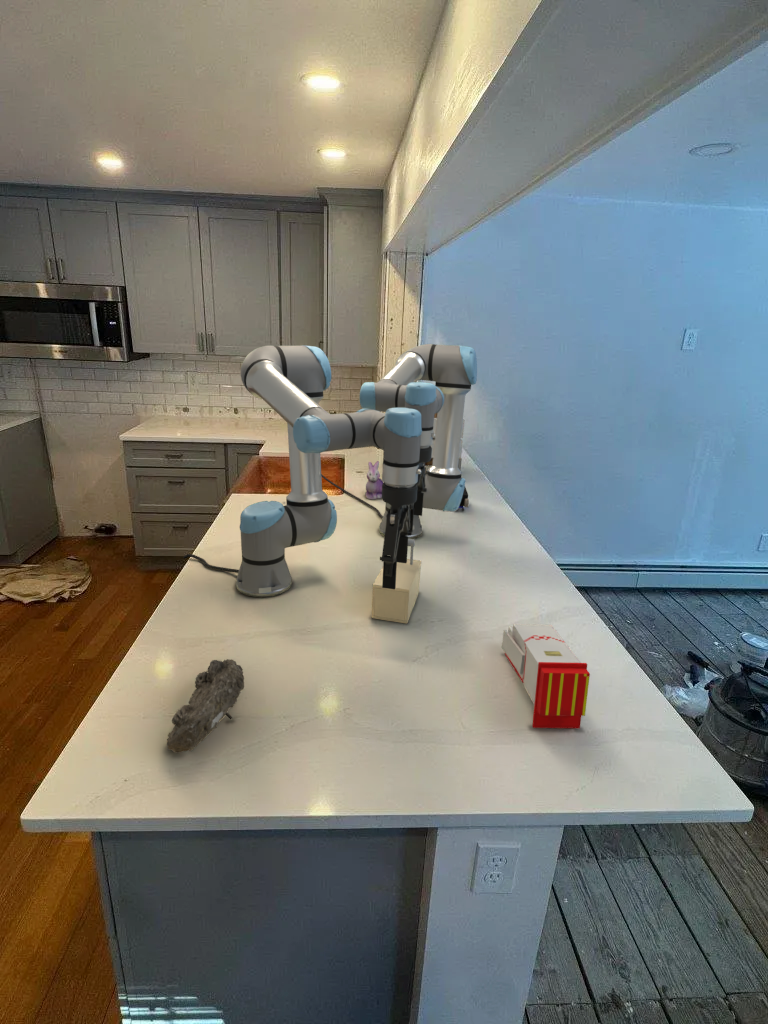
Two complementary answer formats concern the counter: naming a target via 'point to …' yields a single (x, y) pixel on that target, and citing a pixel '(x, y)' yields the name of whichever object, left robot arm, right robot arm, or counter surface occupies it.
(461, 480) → the right robot arm
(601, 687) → the counter surface
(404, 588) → the lid
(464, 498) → the figurine character
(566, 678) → the toy
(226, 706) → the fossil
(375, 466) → the figurine
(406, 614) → the chest
